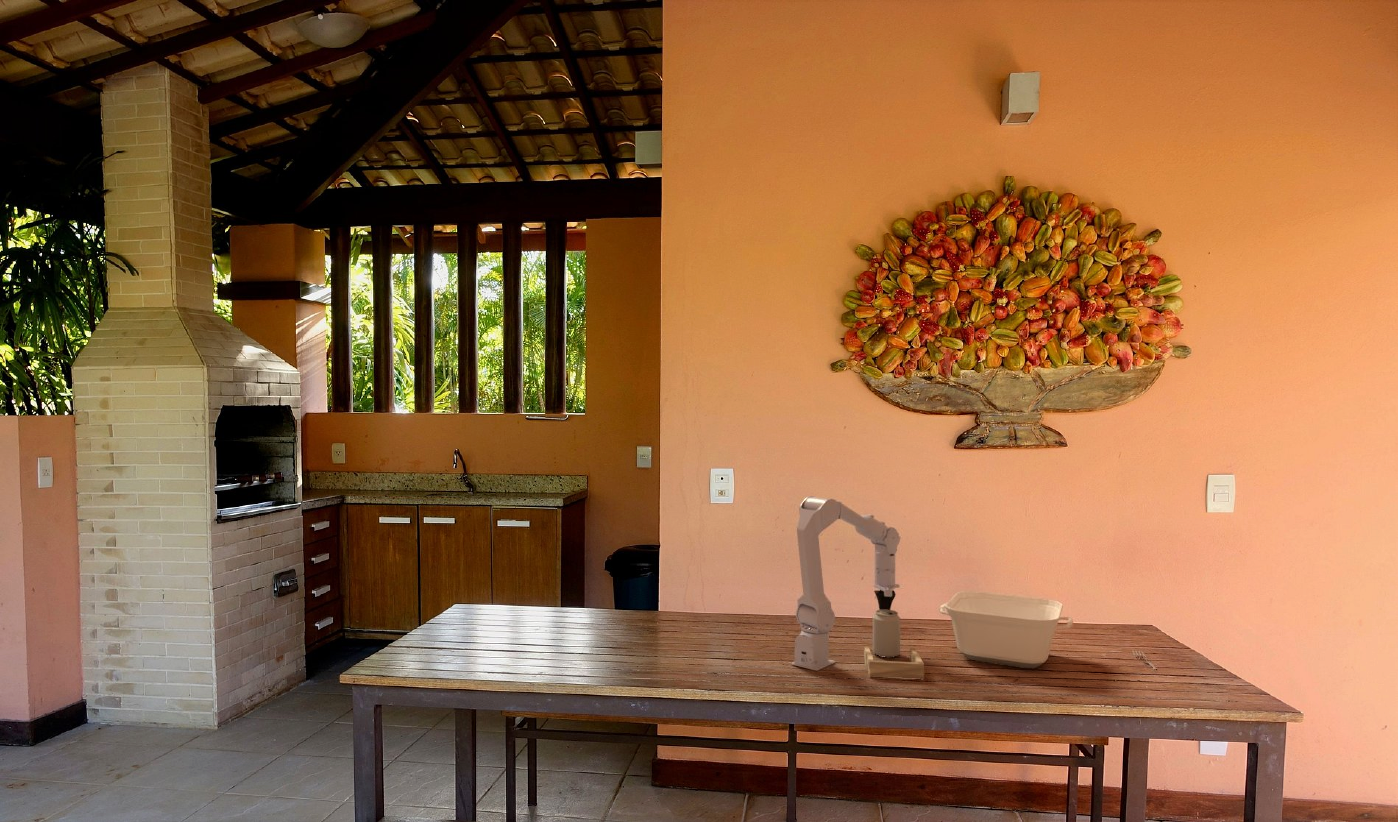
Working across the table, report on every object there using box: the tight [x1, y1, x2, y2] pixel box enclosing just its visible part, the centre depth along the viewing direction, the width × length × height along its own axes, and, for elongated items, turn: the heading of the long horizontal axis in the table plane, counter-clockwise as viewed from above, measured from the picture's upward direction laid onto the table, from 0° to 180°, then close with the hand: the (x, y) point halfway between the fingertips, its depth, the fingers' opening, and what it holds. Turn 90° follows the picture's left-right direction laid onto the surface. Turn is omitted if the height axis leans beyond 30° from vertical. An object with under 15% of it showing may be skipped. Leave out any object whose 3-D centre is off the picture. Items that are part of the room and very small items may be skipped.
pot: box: [939, 590, 1074, 669], centre depth 215 cm, size 34×29×15 cm
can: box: [871, 609, 901, 657], centre depth 216 cm, size 8×8×12 cm
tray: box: [863, 645, 925, 680], centre depth 203 cm, size 14×13×4 cm
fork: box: [1132, 649, 1158, 670], centre depth 207 cm, size 3×24×2 cm, turn 168°
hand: (884, 616), depth 221 cm, fingers closed
